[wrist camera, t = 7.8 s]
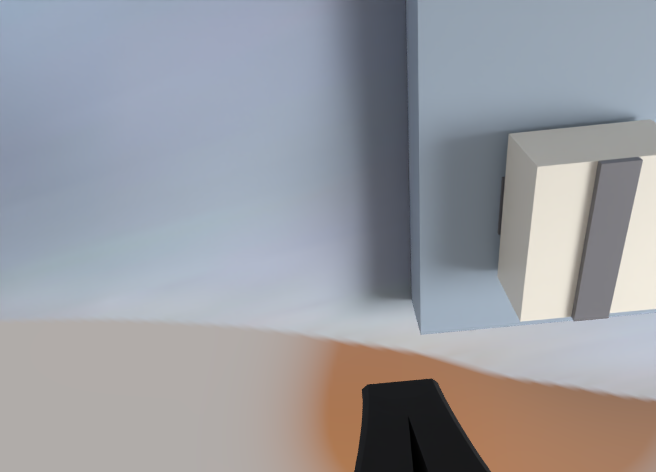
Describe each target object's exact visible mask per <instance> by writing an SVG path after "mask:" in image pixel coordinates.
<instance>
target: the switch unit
mask: <svg viewBox="0 0 656 472" xmlns="http://www.w3.org/2000/svg"><path fill="white" fill-rule="evenodd" d="M406 30H407V81H408V133H409V185H410V236H411V288H412V303H413V307H414V311H415V315H416V319H417V322H418V326H419V330H420V334H421V335H423V334H434V333H444V332H455V331H466V330H476V329H487V328H498V327H508V326H519V325H530V324H540V323H551V322H562V321H572V320H573V319H572V317H565V318H554V319H543V320H533V321H522V322H520V320H519V318H518V316H517V314H516V312H515V310H514V309H513V307H512V305H511V303H510V301H509V299H508V297H507V295H506V293H505V291H504V289H503V287H502V285H501V283H500V281H499V279H498V277H497V273H498V261H499V248H500V236H501V223H502V211H503V198H504V186H505V173H506V161H507V148H508V136H509V134H510V133H520V132H530V131H540V130H549V129H559V128H569V127H579V126H589V125H599V124H609V123H619V122H629V121H639V120H649V119H651V120H652V121H654V122H655V123H656V0H406ZM647 313H656V309H650V310H639V311H629V312H618V313H609V317H615V316H626V315H636V314H647Z"/></svg>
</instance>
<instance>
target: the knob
mask: <svg viewBox="0 0 656 472" xmlns="http://www.w3.org/2000/svg"><path fill="white" fill-rule="evenodd" d="M497 277H498V279H499V281H500V283H501V285H502V287H503V289H504V291H505V293H506V295H507V297H508V299H509V301H510V303H511V305H512V307H513V309H514V310H515V312H516V314H517V316H518V318H519V320H520V322H522V321H533V320H543V319H554V318H565V317H572V319H573V321H583V320H593V319H604V318H609V313H618V312H629V311H639V310H650V309H656V123H655V122H654V121H652V120H651V119H649V120H639V121H629V122H619V123H609V124H599V125H589V126H579V127H569V128H559V129H549V130H540V131H530V132H520V133H510V134H509V136H508V148H507V161H506V173H505V186H504V198H503V211H502V223H501V236H500V248H499V261H498V273H497Z"/></svg>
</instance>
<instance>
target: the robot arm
mask: <svg viewBox="0 0 656 472" xmlns="http://www.w3.org/2000/svg"><path fill="white" fill-rule="evenodd" d="M362 398H363V411H362V412H363V413H362V427H361V434H360V442H359V449H358V456H357V460H356V466H355V471H354V472H491V471H490V470H489V468H488V467H487V465H486V464H485V463H484V461H483V460H482V458H481V457H480V455H479V454H478V452H477V451H476V449H475V448H474V446H473V445H472V443H471V441H470V440H469V438H468V437H467V435H466V433H465V432H464V430H463V429H462V427H461V425H460V424H459V422H458V420H457V419H456V417H455V415H454V413H453V412H452V410H451V408H450V406H449V404H448V403H447V401H446V399H445V397H444V395H443V393H442V391H441V389H440V387H439V385H438V383H437V382H436V381H435V380H433V379H423V380H412V381H401V382H391V383H379V384H369V385H367V386H365V387H364V388H363V389H362Z"/></svg>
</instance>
